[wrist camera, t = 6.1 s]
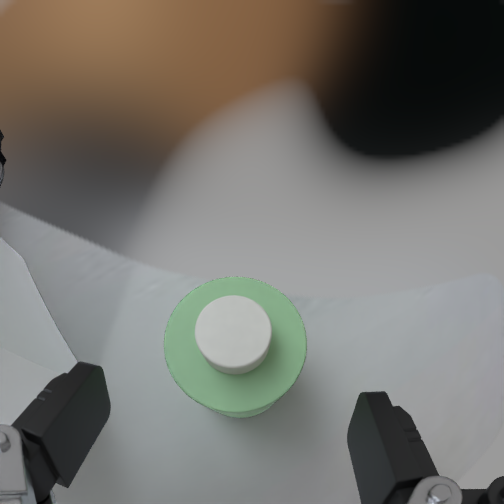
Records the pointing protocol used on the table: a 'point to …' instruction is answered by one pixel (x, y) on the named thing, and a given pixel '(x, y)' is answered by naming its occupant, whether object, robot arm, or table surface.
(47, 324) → the milk
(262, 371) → the soap bottle
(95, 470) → the table surface
